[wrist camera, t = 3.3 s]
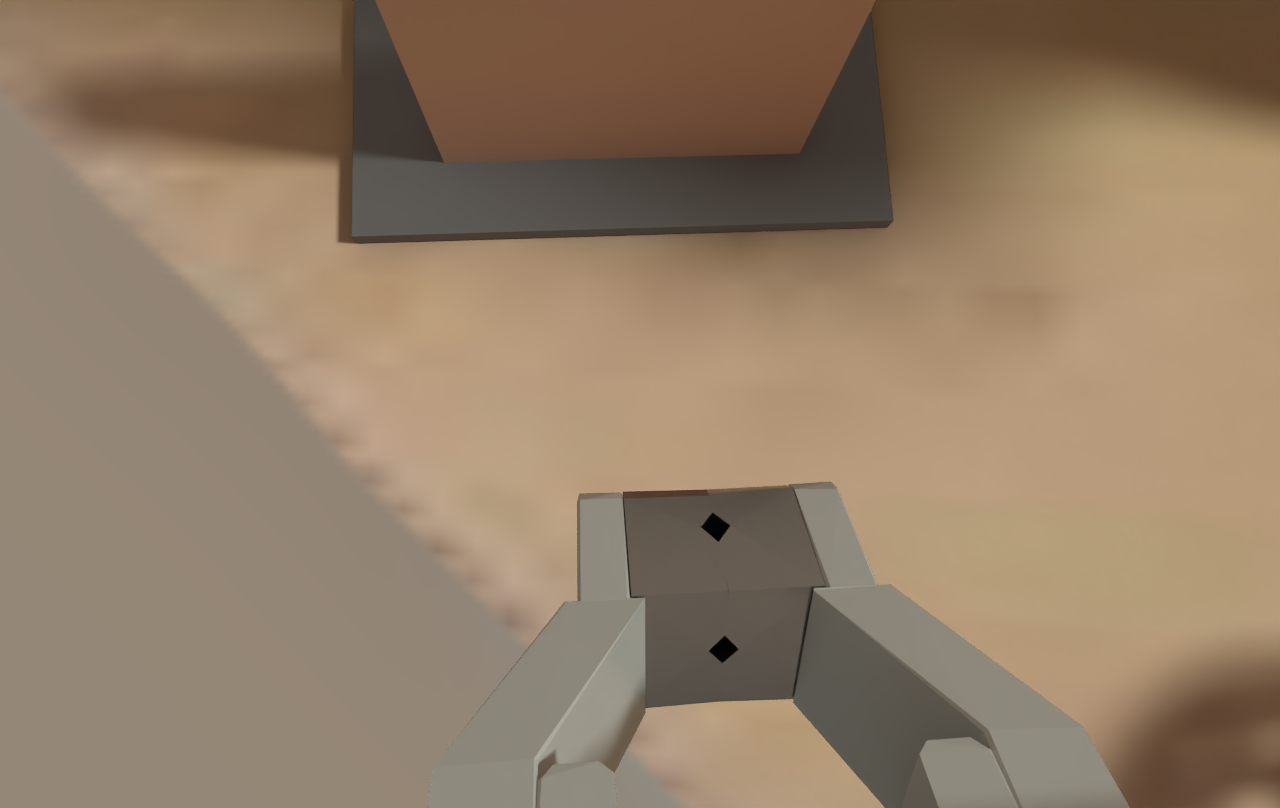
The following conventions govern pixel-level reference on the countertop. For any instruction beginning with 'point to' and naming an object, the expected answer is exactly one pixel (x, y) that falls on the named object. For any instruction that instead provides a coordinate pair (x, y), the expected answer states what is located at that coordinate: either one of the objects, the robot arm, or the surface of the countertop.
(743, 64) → the tile
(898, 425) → the countertop surface
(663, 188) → the mat
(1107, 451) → the countertop surface
